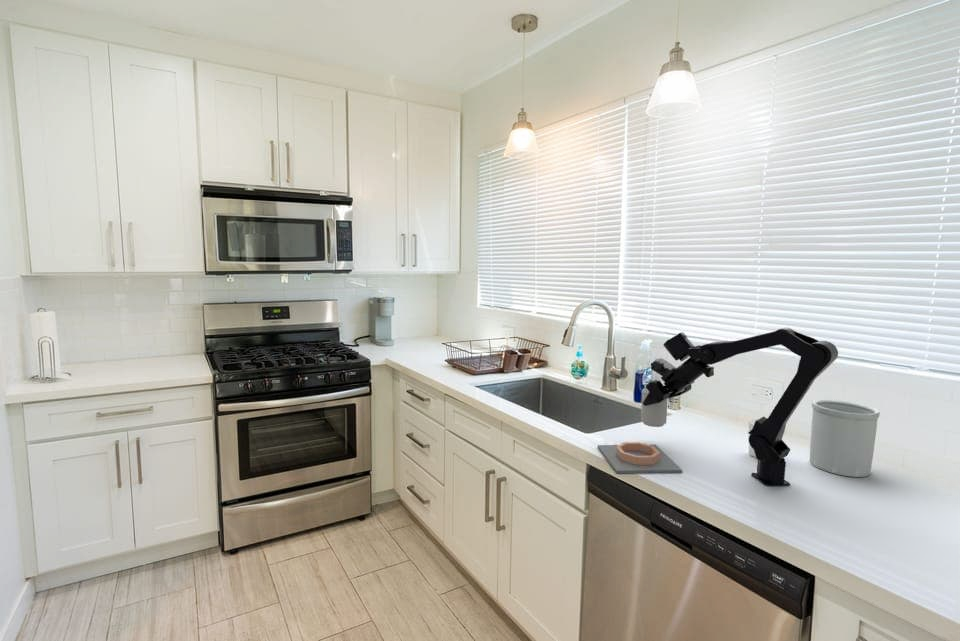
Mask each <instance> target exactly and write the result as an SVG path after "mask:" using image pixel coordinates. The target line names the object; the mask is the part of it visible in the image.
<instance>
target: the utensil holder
mask: <svg viewBox="0 0 960 641" xmlns="http://www.w3.org/2000/svg"><path fill="white" fill-rule="evenodd" d="M811 408H812V414H811V417H812V419H811V427H810V428H811V430H810V441H809V442H810V443H809V444H810V445H809V462H810V464H811V465H813V466H814V467H816V468H817V469H819V470H822V471H825V472H828V473H831V474H835V475H838V476H839V475H840V476H845V477H851V478H852V477H855V478H863V477H867V476H870V474H871V470H872V464H873V459H874V451H875V442H876V436H877V429H878V420H879V417H880V416H881V415H880V410H879V409H877V408H876V407H873V406H870V405H867V404H863V403H858V402H853V401H848V400H841V399H838V400H837V399H828V398H821V399H820V398H819V399H814V400H813V401H812V403H811Z"/></svg>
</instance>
